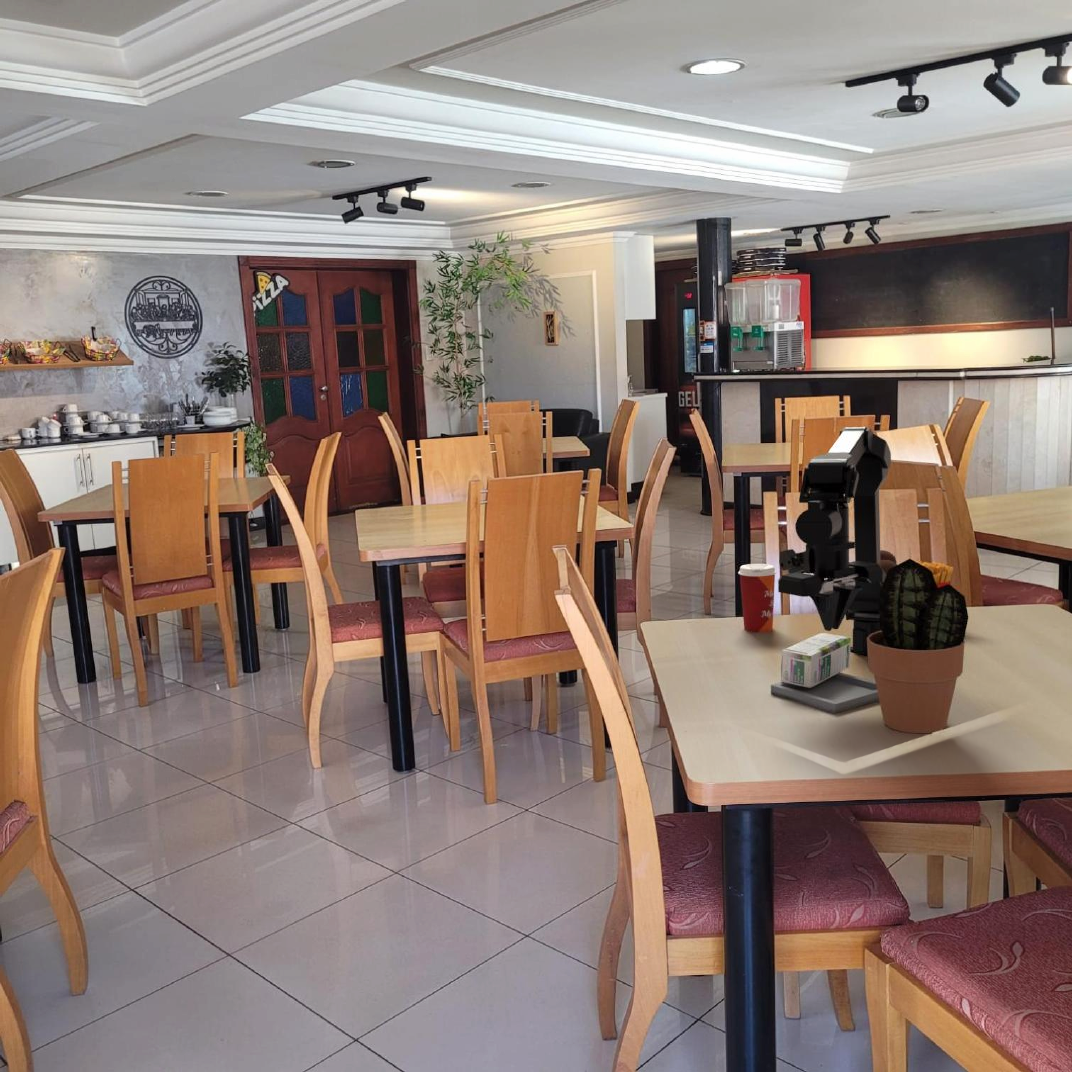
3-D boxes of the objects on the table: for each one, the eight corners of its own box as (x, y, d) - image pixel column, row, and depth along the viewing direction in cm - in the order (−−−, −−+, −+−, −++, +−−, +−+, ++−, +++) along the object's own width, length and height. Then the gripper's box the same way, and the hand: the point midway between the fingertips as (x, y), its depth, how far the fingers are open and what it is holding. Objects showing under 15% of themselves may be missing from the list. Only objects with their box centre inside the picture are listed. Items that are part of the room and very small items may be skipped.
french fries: (899, 622, 219) (904, 561, 216) (905, 618, 222) (910, 557, 220) (945, 630, 214) (951, 567, 211) (950, 625, 217) (956, 563, 215)
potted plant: (880, 740, 152) (880, 570, 149) (857, 711, 166) (856, 554, 162) (977, 737, 152) (979, 566, 148) (945, 708, 165) (946, 550, 162)
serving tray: (829, 677, 184) (829, 669, 184) (894, 695, 173) (894, 686, 172) (770, 693, 177) (770, 684, 177) (835, 713, 165) (835, 704, 165)
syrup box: (850, 668, 185) (811, 689, 174) (819, 662, 189) (779, 682, 178) (851, 636, 184) (812, 655, 173) (819, 631, 188) (780, 649, 177)
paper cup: (777, 637, 214) (776, 569, 212) (739, 637, 216) (737, 570, 214) (777, 628, 222) (776, 562, 220) (739, 628, 223) (738, 563, 221)
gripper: (832, 524, 183) (833, 613, 185) (753, 537, 173) (754, 630, 175) (884, 530, 173) (884, 623, 176) (803, 544, 164) (805, 643, 166)
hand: (831, 629), depth 173 cm, fingers closed
